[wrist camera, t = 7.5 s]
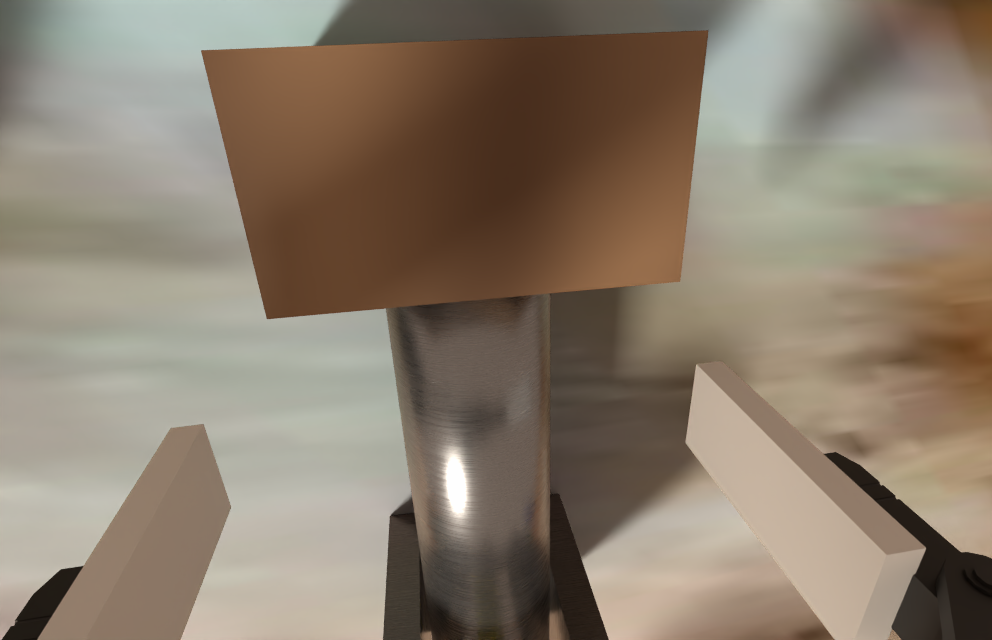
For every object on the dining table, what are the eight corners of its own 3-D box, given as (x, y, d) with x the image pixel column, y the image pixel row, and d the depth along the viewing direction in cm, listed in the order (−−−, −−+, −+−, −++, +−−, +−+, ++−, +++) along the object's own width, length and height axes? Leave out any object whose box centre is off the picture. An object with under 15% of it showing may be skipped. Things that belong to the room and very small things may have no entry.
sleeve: (404, 600, 29) (399, 821, 20) (389, 516, 26) (378, 729, 18) (558, 577, 30) (615, 780, 21) (559, 493, 27) (624, 686, 19)
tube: (537, 582, 26) (563, 692, 21) (431, 598, 25) (434, 714, 21) (532, 152, 17) (574, 182, 13) (372, 162, 17) (357, 197, 12)
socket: (330, 210, 20) (267, 319, 11) (304, 58, 18) (201, 50, 9) (570, 193, 21) (680, 281, 12) (573, 47, 19) (708, 30, 10)
